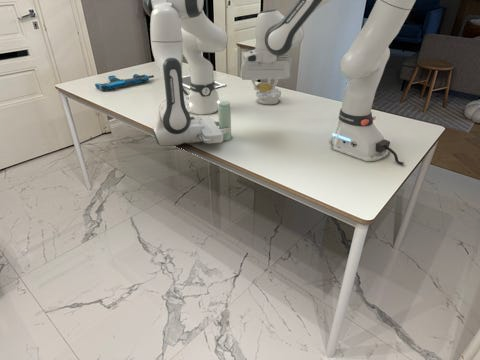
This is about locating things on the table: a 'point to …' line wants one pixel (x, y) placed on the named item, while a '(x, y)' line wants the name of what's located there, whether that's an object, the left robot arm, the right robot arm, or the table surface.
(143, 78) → the submachine gun
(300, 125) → the table surface
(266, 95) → the flag stand
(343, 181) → the table surface
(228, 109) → the pale green cylinder
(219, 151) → the table surface
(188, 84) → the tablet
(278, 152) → the table surface
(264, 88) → the lid
